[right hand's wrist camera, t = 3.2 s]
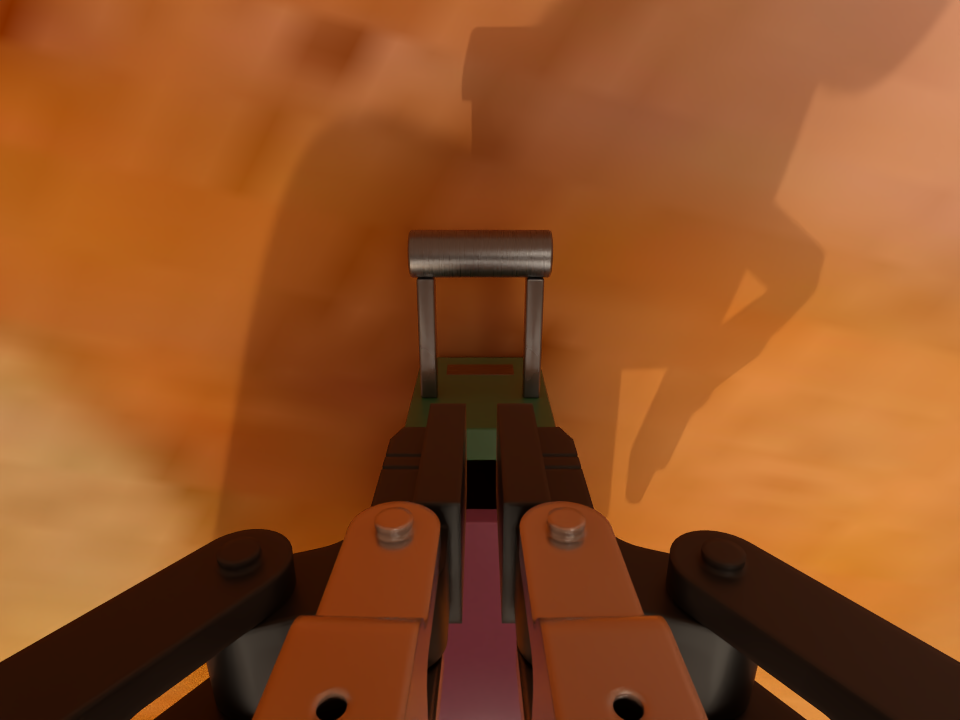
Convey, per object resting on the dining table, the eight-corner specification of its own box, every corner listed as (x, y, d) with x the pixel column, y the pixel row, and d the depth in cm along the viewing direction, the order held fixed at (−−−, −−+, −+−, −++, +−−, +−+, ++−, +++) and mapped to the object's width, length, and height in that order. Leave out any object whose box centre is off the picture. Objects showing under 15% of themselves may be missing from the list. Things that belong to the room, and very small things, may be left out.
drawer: (417, 214, 24) (394, 244, 17) (543, 214, 24) (566, 244, 17) (432, 630, 31) (420, 754, 25) (528, 630, 31) (539, 754, 25)
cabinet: (412, 410, 28) (386, 521, 20) (547, 410, 28) (574, 522, 20) (424, 675, 33) (407, 841, 26) (535, 674, 33) (552, 841, 26)
